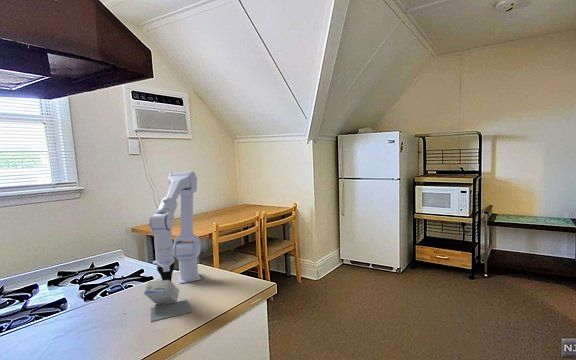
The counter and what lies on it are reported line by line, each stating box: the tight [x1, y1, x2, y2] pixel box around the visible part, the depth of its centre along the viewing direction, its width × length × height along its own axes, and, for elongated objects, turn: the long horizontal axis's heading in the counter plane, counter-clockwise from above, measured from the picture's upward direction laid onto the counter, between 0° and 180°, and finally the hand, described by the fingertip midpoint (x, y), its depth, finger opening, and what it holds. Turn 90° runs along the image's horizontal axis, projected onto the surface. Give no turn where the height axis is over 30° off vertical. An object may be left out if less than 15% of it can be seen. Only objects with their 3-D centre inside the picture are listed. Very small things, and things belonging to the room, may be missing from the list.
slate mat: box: [150, 299, 192, 323], centre depth 107 cm, size 10×12×1 cm
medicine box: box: [144, 279, 180, 304], centre depth 111 cm, size 8×4×9 cm
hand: (167, 285), depth 114 cm, fingers closed
